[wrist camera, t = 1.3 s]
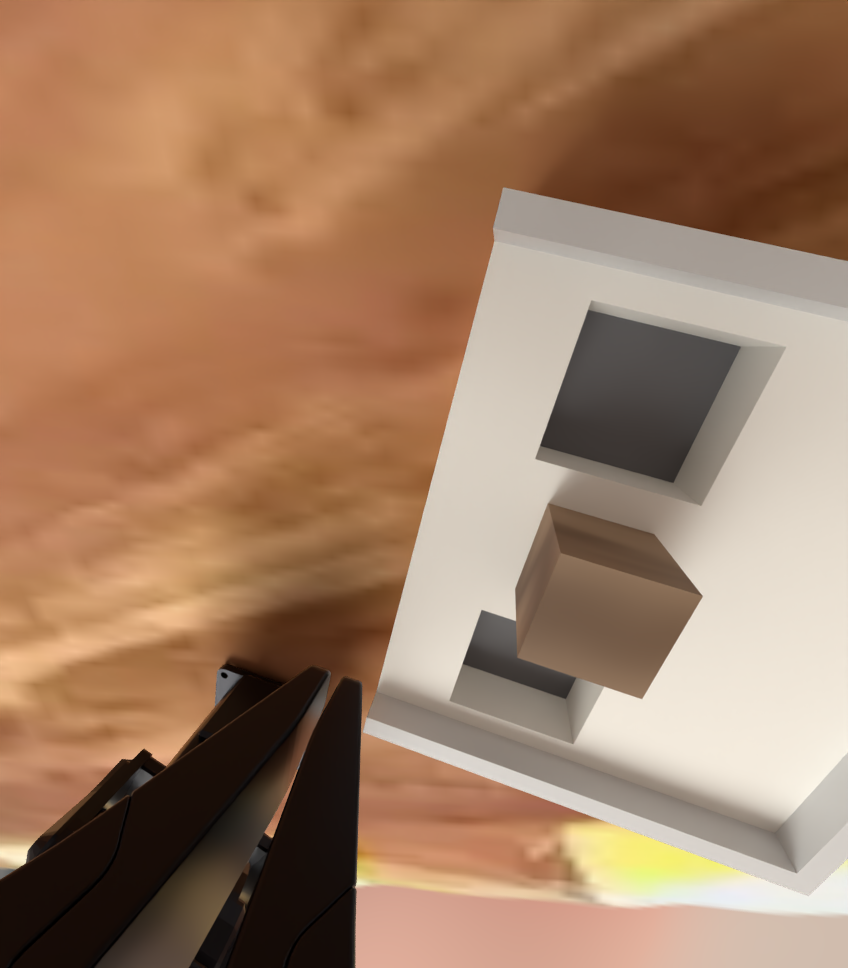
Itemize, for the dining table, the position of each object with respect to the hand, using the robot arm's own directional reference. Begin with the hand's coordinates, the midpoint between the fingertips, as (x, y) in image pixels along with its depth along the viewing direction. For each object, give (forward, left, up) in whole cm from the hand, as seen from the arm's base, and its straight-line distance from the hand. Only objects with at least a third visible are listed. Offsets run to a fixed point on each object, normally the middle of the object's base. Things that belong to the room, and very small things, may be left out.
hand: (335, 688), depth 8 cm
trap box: (0, -10, -12) cm, 16 cm away
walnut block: (0, -7, -9) cm, 11 cm away
